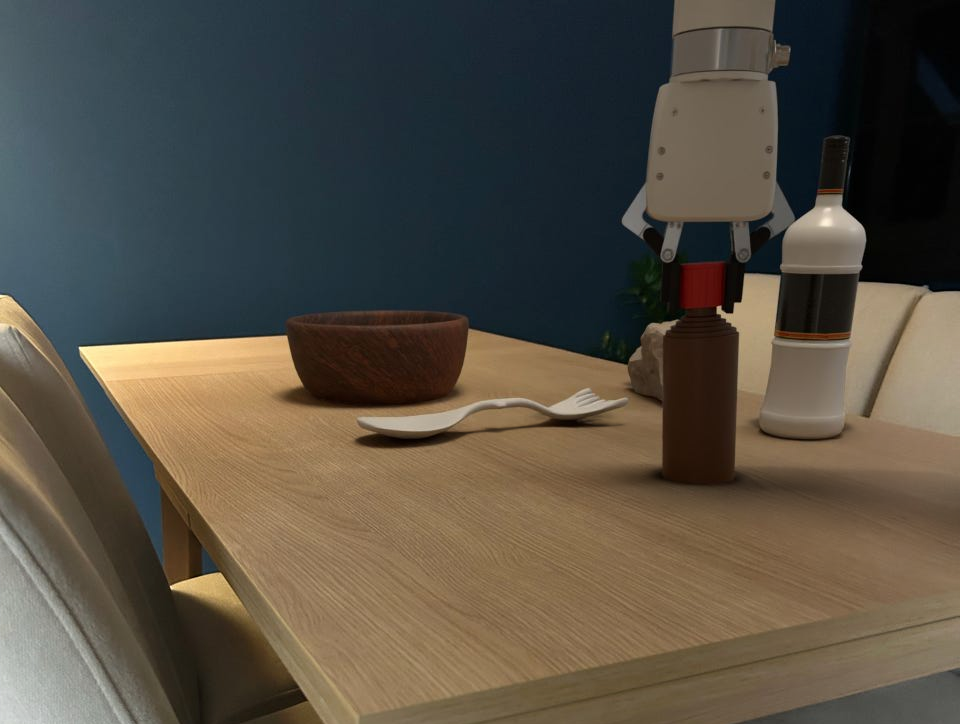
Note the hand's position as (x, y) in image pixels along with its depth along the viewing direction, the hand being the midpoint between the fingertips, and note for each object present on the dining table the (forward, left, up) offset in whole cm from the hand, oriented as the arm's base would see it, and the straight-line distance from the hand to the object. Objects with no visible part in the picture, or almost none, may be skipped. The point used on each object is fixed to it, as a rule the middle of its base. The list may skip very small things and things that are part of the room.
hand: (699, 309), depth 82 cm
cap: (0, 0, 0) cm, 0 cm away
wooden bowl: (+40, -47, -15) cm, 64 cm away
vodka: (-14, -26, -15) cm, 33 cm away
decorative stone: (0, -48, -15) cm, 50 cm away
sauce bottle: (-1, 0, -15) cm, 15 cm away
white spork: (+21, -23, -15) cm, 35 cm away
